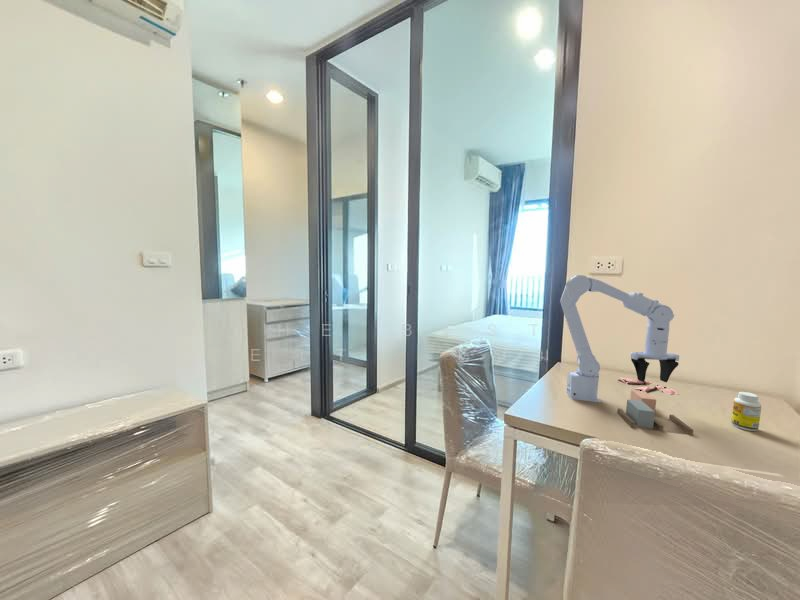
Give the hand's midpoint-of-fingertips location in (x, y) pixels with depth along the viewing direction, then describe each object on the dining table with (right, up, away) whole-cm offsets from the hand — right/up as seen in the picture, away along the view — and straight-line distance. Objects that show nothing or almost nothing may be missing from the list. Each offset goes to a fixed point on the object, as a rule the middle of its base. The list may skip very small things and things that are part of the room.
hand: (652, 380), depth 108 cm
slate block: (-12, -10, -10) cm, 19 cm away
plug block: (-3, -10, +1) cm, 10 cm away
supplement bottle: (+19, -11, -11) cm, 25 cm away
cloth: (+13, -9, +23) cm, 28 cm away
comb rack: (-9, -10, -11) cm, 18 cm away
